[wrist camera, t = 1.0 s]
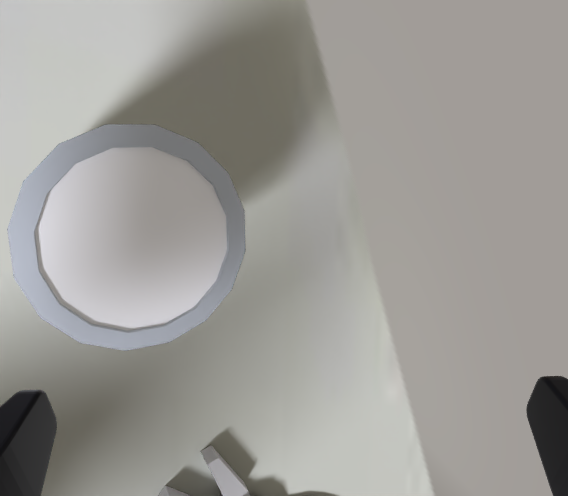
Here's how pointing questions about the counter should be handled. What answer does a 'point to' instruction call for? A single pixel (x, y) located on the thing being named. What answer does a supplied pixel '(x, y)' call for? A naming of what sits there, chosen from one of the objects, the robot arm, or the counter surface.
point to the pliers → (217, 477)
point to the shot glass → (127, 236)
